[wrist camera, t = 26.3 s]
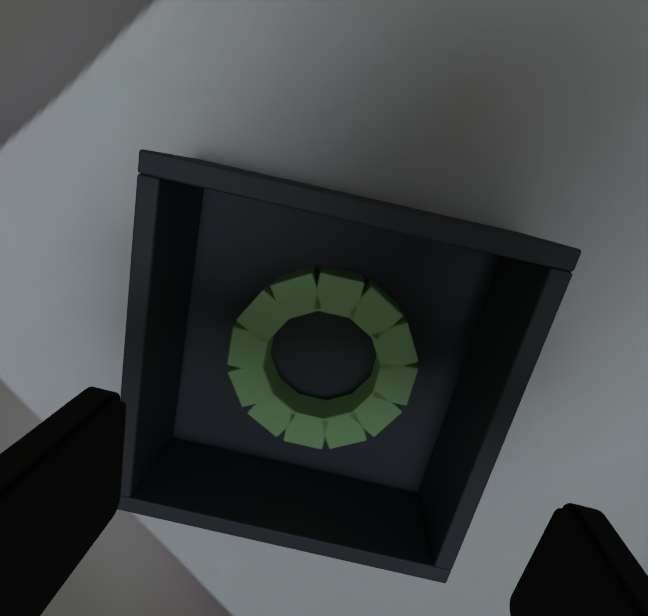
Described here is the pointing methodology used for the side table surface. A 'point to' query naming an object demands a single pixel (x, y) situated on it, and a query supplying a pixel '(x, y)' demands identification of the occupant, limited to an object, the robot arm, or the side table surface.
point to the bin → (323, 363)
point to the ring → (309, 412)
